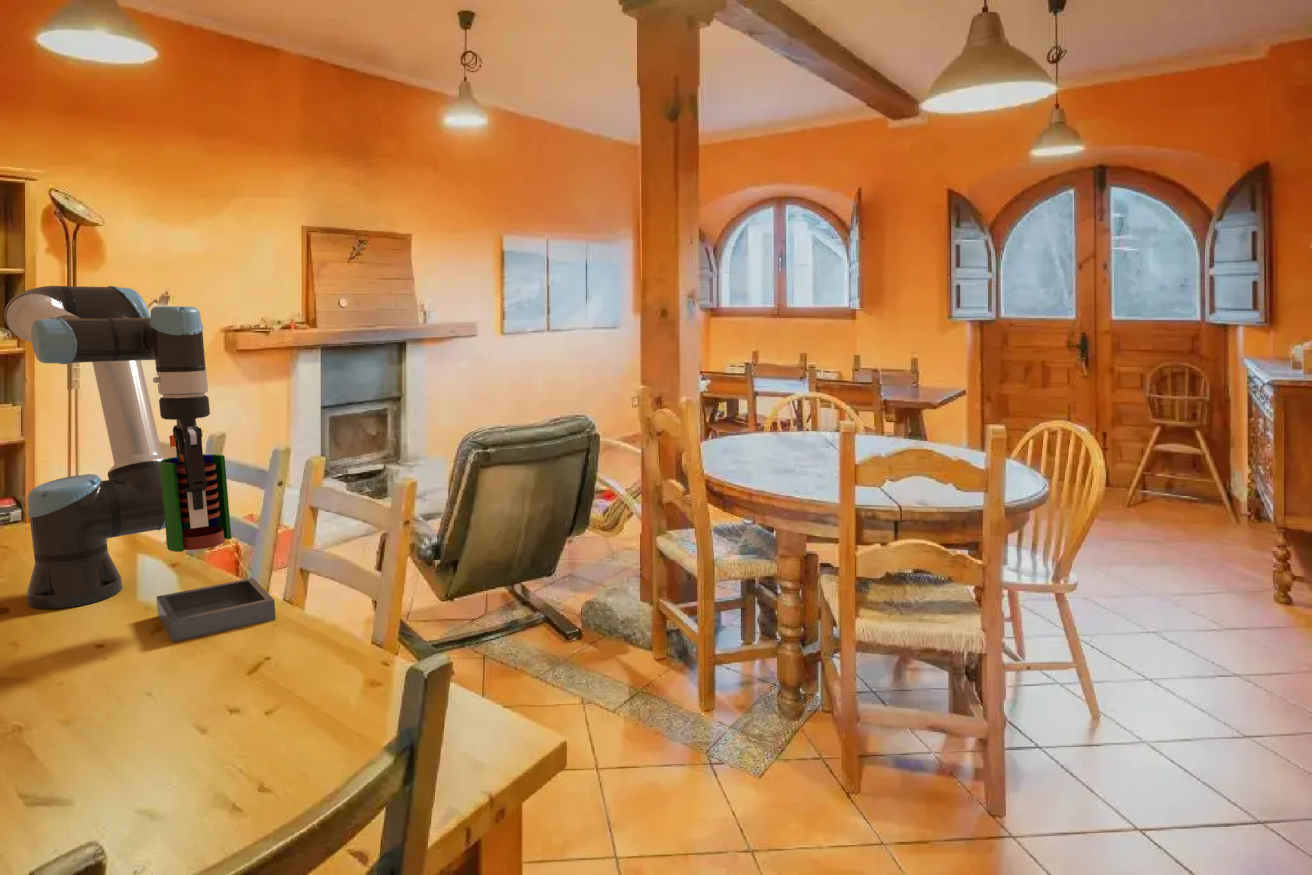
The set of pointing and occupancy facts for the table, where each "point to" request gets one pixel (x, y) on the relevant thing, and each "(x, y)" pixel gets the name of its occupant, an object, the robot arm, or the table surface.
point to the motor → (177, 504)
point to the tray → (214, 609)
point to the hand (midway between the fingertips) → (196, 522)
